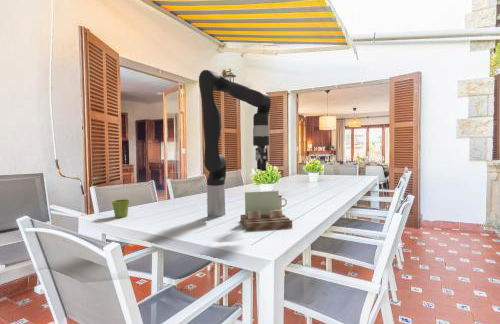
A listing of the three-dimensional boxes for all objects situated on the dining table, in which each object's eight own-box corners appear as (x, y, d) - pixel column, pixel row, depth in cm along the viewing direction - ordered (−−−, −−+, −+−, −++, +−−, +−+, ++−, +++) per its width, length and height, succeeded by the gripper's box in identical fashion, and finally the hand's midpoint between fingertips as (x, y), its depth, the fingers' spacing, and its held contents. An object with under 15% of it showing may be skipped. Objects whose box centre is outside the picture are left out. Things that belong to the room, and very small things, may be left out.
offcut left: (248, 225, 134) (248, 212, 133) (248, 224, 135) (248, 211, 135) (260, 224, 135) (260, 211, 134) (260, 223, 136) (259, 210, 136)
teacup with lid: (264, 211, 169) (264, 191, 168) (268, 208, 177) (268, 188, 177) (285, 212, 165) (285, 191, 164) (288, 209, 174) (288, 189, 173)
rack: (247, 234, 125) (247, 223, 125) (240, 223, 143) (240, 214, 143) (292, 231, 129) (292, 220, 129) (280, 221, 147) (280, 212, 146)
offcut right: (270, 224, 136) (270, 211, 135) (269, 223, 137) (269, 210, 137) (282, 223, 137) (282, 210, 136) (281, 222, 138) (281, 209, 138)
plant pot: (107, 217, 159) (107, 201, 158) (121, 214, 168) (120, 198, 167) (121, 219, 155) (120, 202, 155) (134, 215, 164) (133, 199, 164)
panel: (245, 222, 140) (245, 192, 139) (245, 221, 141) (244, 192, 140) (278, 220, 143) (278, 190, 142) (278, 219, 144) (277, 190, 143)
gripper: (250, 136, 146) (250, 169, 147) (256, 135, 132) (257, 171, 133) (265, 136, 147) (265, 168, 148) (272, 134, 134) (273, 171, 134)
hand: (261, 170), depth 141 cm, fingers open, 8 cm apart
